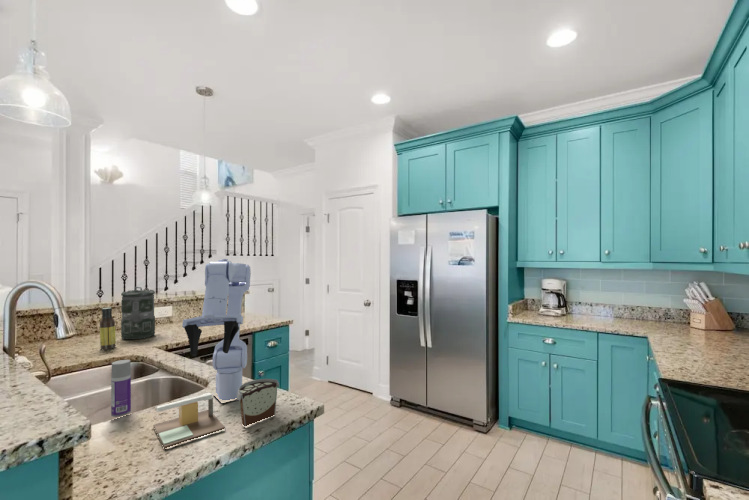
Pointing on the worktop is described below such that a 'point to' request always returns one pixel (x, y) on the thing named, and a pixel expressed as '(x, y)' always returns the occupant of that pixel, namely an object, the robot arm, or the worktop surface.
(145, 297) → the green backpack
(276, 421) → the worktop surface
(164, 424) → the brown tray
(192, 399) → the strap
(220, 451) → the worktop surface
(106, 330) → the sauce bottle
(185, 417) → the plug block
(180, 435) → the sage mat
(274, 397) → the food container
